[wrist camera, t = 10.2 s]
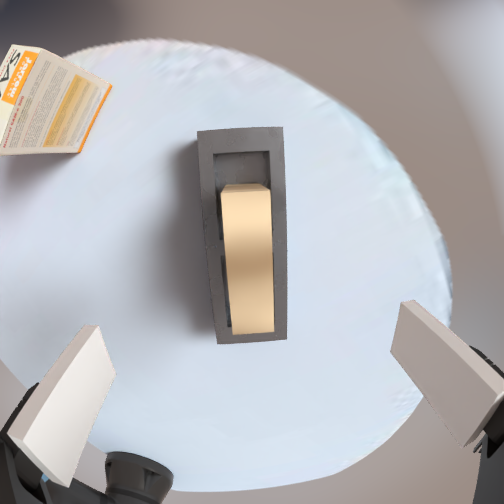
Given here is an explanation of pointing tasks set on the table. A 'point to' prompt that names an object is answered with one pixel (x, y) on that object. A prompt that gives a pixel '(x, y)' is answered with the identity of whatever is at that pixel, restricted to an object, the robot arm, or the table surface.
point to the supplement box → (46, 102)
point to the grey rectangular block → (212, 184)
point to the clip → (249, 256)
